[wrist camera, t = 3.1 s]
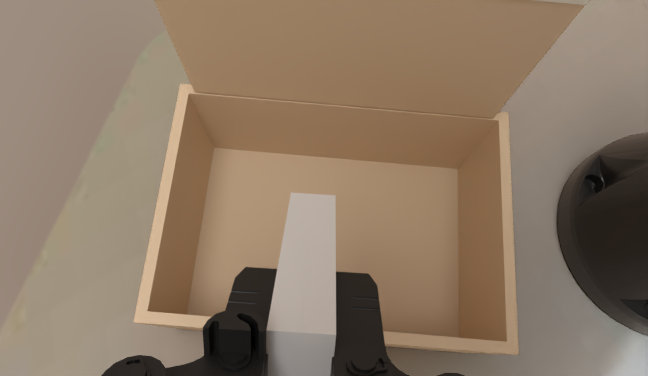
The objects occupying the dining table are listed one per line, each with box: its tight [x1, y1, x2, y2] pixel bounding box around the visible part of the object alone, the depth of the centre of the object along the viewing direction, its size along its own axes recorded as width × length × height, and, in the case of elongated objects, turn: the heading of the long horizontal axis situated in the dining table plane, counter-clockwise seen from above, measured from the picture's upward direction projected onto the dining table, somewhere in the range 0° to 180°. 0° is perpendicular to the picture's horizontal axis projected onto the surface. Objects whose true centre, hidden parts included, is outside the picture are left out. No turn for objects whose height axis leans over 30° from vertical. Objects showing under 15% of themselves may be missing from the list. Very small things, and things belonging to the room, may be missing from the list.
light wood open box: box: [134, 84, 519, 355], centre depth 32 cm, size 20×14×9 cm
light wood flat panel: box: [154, 0, 590, 118], centre depth 24 cm, size 18×1×12 cm, turn 85°
